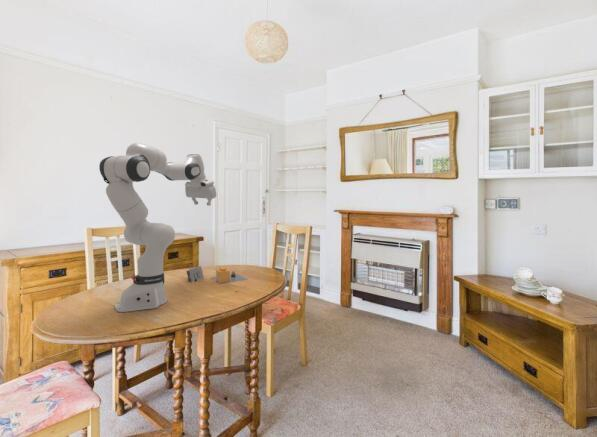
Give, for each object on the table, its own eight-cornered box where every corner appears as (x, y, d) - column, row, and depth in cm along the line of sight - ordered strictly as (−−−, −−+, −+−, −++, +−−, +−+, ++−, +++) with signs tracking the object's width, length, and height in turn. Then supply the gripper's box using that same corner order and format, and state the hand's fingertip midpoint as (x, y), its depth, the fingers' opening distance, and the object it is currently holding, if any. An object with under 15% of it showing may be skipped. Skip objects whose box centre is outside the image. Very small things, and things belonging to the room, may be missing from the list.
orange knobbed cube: (219, 283, 183) (219, 269, 182) (216, 280, 188) (216, 267, 187) (229, 281, 186) (229, 268, 185) (225, 279, 191) (225, 266, 190)
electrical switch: (192, 285, 183) (191, 269, 183) (186, 284, 186) (185, 269, 186) (204, 281, 192) (203, 266, 191) (198, 280, 194) (197, 265, 194)
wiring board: (219, 286, 181) (219, 277, 180) (210, 280, 194) (209, 271, 193) (248, 281, 191) (248, 273, 190) (237, 276, 204) (237, 267, 203)
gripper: (180, 182, 185) (185, 205, 189) (209, 183, 177) (212, 207, 181) (188, 180, 190) (192, 202, 195) (216, 181, 182) (219, 204, 187)
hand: (202, 204), depth 188 cm, fingers open, 8 cm apart
